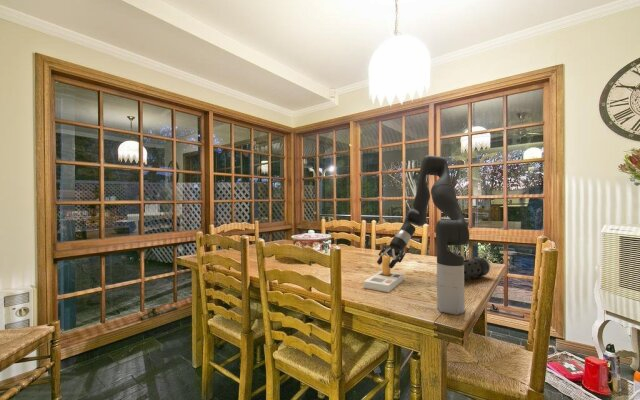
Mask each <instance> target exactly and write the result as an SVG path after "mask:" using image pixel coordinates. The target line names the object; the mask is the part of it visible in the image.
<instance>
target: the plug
mask: <svg viewBox="0 0 640 400" xmlns="http://www.w3.org/2000/svg"><path fill="white" fill-rule="evenodd" d="M390 263H391V257H390V256H385V255H384V256H382V263H381V271H382V276H388V277H390V272H391V268H390V267H389V264H390Z"/></svg>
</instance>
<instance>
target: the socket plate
mask: <svg viewBox="0 0 640 400" xmlns="http://www.w3.org/2000/svg"><path fill="white" fill-rule="evenodd" d="M403 281H405V274H404V273H400V272H392V271H390V277H388V276H382V270H380V271H378V272H377V273H375V274H373V275H372V276H369V277H368V278H367V279H364V280H363V288H364V289H369V290H373V291H378V292H385V293H390V292H391V291H392V290H394V289H395V287H397V286H398V285H400V284H401V283H402V282H403Z"/></svg>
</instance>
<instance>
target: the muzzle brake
mask: <svg viewBox="0 0 640 400" xmlns="http://www.w3.org/2000/svg"><path fill="white" fill-rule="evenodd" d="M490 271H491V263H490V262H489V260H487V259H486V258H483V257H480V256H478V257H471V258H469V259H464V280H467V279H470V280H474V279H477V278H479V277H484V276H486V275H488V273H489V272H490Z"/></svg>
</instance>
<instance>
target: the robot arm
mask: <svg viewBox="0 0 640 400" xmlns="http://www.w3.org/2000/svg"><path fill="white" fill-rule="evenodd" d="M427 175H429V176H436V177H438V179H437V180H436V181H435V182H434V183H433V185H432V186H431V189H429V187H428V183H427ZM416 188H417V189H416V192H415V193H416V194H415V196H414V200H413V202H412V203H413V204H412V207H413V208H410V209H409V210H407V212H406V215H405V217H404V218H405V219H404V222H403V223H402V225H401V227H400V229H399V230H398V231H397V232H396V233H395V235H394V237H393V238H392V240H391V241H390V243H389V246H388V247H387V246H385V245H384V246H383V247H382V249H381V250H380V251H379V253H378V254H377V255H378V256H379V257H378V259H377V261H376V263H377V265H379V266H380V265H382V256H390V258H392V259H391V260H390V264H389V267H390V269H393V268H394V267H395V265H396V264H397V263H402V261H403V259H404V257H405V256H406V254H407V252H406V251H404V250H405V249H406V247H407V246H408V245H409V243H410V241H411V238H412V237H413V235H414V234H415V232H416V227H415V226H414V225H416V226H418V227H423V226H424V225H425V224H426V223H427V218H428V217H427V216H428V215H427V211H428V210H427V208H428V205H429V202H430V198H432V199H431V200H432V202H433V204H434V206H435V207H436V208H437V209H438V210H439V211H441V212H442V213H443V214H445V216H446V217H448V218H449V219H440V220H438V221H437V222H436V224H435V241H436V242H435V243H436V244H435V245H436V308H437V310H438V312H440V313H445V314H451V315H456V316H458V315H461V314H463V313H465V279H464V260H465V258H464V256H462V255H461V254H459V253H456V252H453V251H451V250H449V249H448V247H447V246H465V245H467V244H468V243H469V241H470V230H469V227H468V223H467V222H466V219H465V217H464V215H463V212H462V209H461V208H460V205H459V201H458V198H457V194H456V192H455V191H456V190H455V189H454V186H453V183H452V179H451V176H450V169H449V164H448V160H447V159H446V158H445V157H443V156H439V155H429V154H426V155H425V156H424V157H423V158H422V160H421V163H420V169H419V175H418V181H417V187H416Z"/></svg>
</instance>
